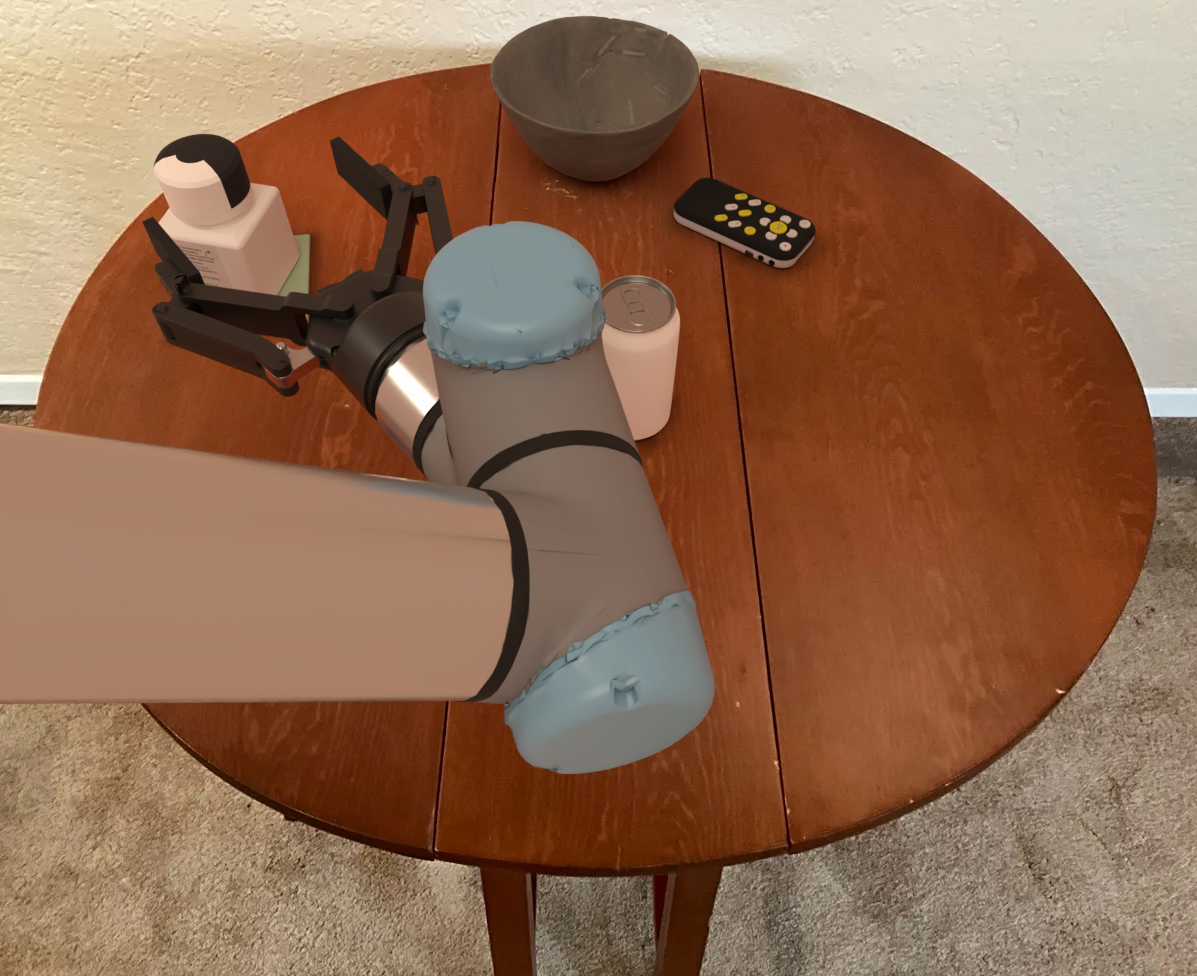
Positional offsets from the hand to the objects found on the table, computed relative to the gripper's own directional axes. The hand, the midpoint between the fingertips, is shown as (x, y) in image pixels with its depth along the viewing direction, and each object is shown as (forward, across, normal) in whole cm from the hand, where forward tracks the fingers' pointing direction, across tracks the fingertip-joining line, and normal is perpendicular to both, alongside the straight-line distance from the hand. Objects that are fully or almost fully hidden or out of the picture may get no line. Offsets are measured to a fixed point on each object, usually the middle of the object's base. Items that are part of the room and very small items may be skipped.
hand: (250, 193), depth 65 cm
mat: (+12, +1, -18) cm, 21 cm away
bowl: (+6, +36, -18) cm, 40 cm away
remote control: (-10, +40, -18) cm, 45 cm away
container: (+12, +1, -17) cm, 21 cm away
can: (-20, +18, -18) cm, 32 cm away
